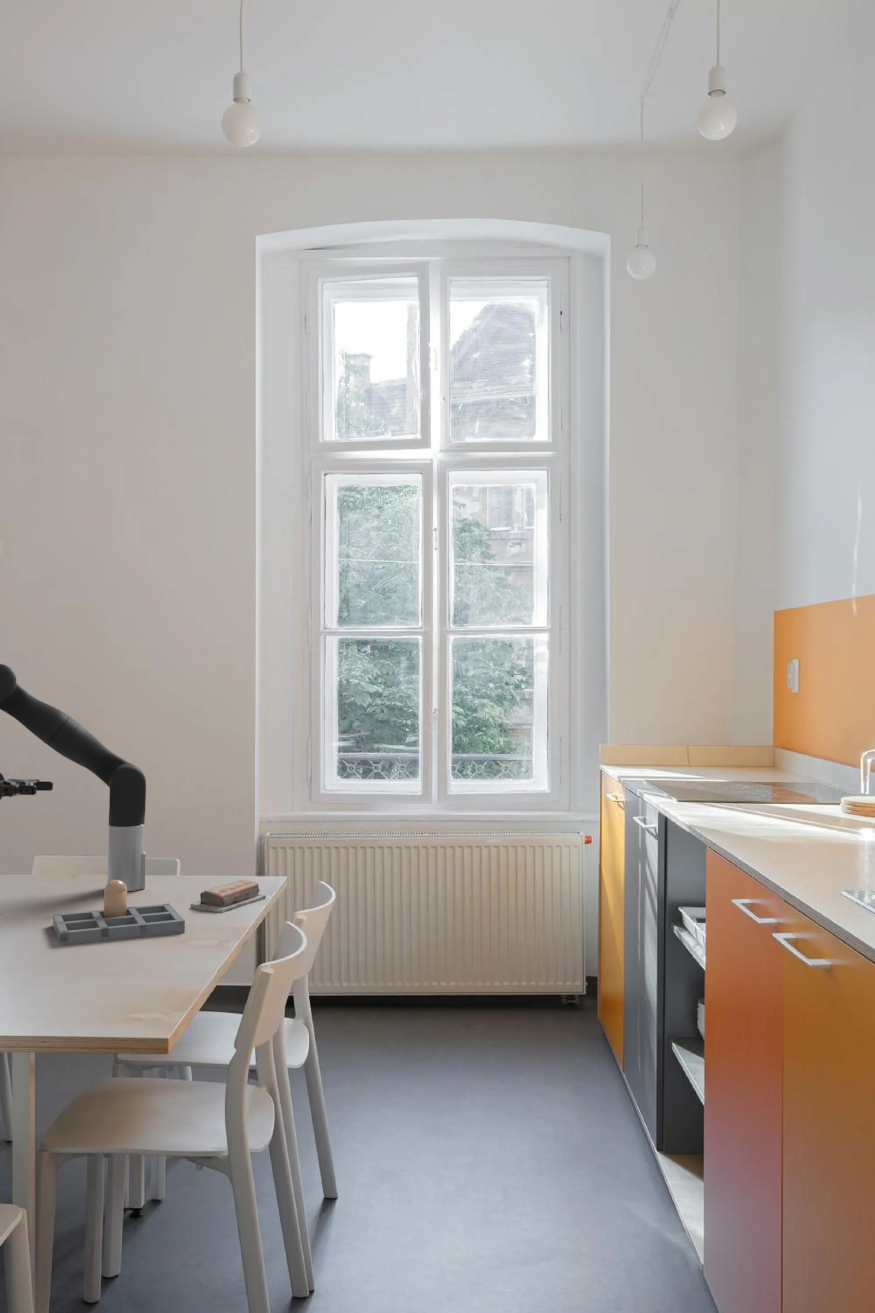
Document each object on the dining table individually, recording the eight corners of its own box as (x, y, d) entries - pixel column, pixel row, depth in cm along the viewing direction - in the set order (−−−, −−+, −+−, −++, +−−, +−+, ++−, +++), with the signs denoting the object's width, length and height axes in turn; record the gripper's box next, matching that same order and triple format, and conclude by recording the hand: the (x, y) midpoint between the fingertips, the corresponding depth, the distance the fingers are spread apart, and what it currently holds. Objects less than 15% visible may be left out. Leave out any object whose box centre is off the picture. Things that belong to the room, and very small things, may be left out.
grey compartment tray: (168, 914, 237) (169, 903, 237) (184, 932, 221) (184, 920, 221) (52, 925, 225) (53, 914, 225) (60, 945, 209) (60, 933, 209)
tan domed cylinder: (124, 918, 230) (125, 877, 230) (127, 922, 225) (129, 881, 226) (101, 920, 227) (103, 878, 228) (105, 924, 223) (106, 882, 223)
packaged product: (235, 877, 259) (266, 881, 255) (235, 895, 259) (266, 900, 255) (189, 890, 243) (221, 895, 239) (189, 910, 243) (221, 915, 239)
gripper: (-37, 774, 232) (30, 775, 231) (-6, 768, 246) (57, 769, 245) (-37, 806, 232) (29, 807, 230) (-6, 798, 246) (57, 799, 245)
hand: (44, 788), depth 238 cm, fingers open, 8 cm apart
